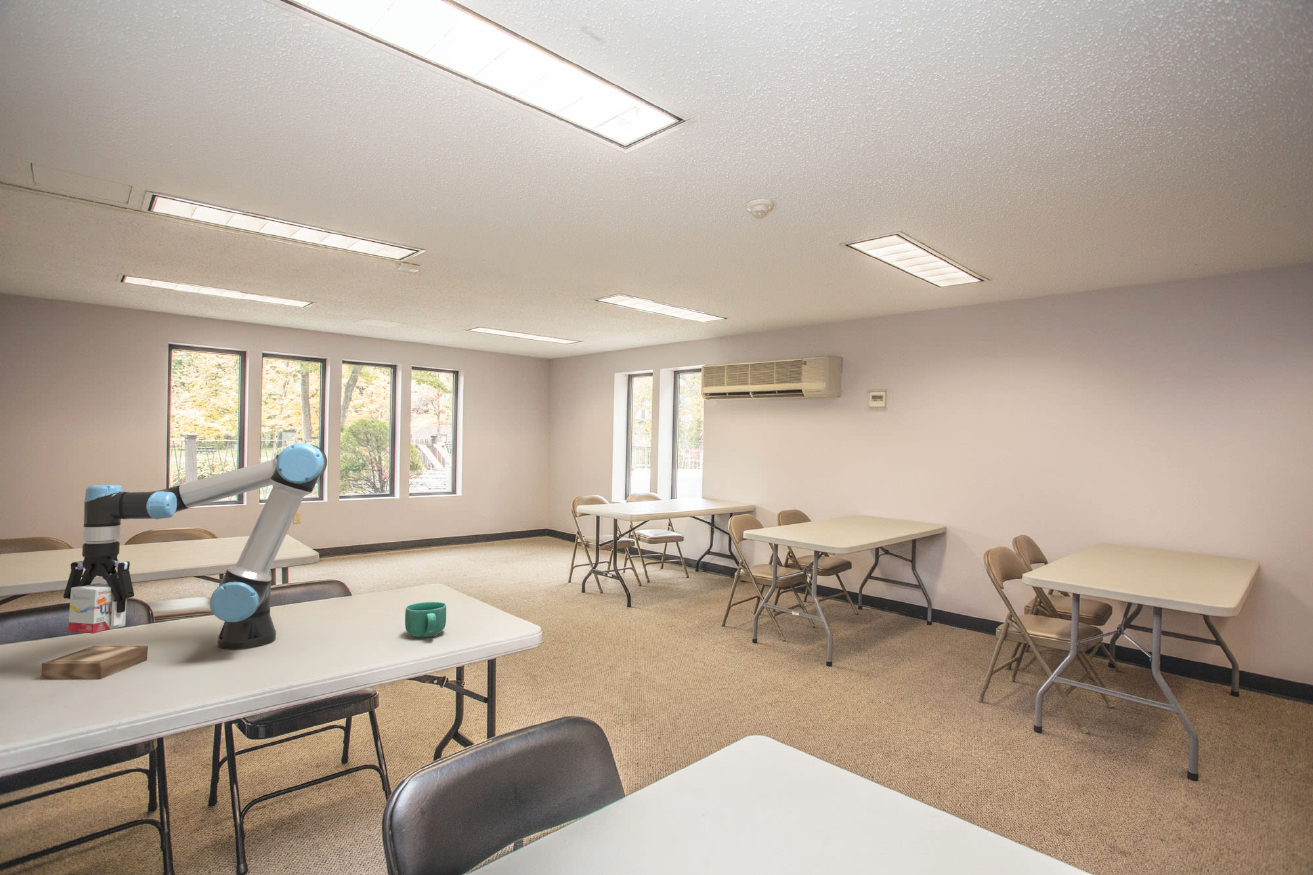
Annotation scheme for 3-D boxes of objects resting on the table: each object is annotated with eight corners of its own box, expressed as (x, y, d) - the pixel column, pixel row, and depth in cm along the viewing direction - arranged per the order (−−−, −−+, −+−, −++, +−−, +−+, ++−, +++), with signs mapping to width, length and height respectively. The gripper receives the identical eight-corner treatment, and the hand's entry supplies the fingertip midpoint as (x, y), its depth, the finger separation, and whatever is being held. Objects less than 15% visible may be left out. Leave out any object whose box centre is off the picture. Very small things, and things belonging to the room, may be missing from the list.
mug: (403, 632, 203) (404, 603, 203) (443, 628, 208) (444, 599, 208) (406, 646, 188) (407, 615, 188) (449, 641, 193) (450, 611, 194)
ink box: (92, 634, 161) (94, 588, 161) (67, 631, 163) (69, 587, 163) (126, 625, 169) (128, 582, 170) (102, 623, 171) (104, 580, 172)
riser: (147, 659, 173) (147, 645, 174) (100, 678, 158) (101, 662, 159) (92, 660, 173) (93, 645, 173) (41, 679, 158) (41, 663, 158)
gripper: (153, 540, 171) (150, 621, 170) (72, 539, 170) (68, 620, 170) (131, 543, 164) (127, 628, 163) (46, 543, 163) (42, 628, 162)
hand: (97, 624), depth 166 cm, fingers closed on ink box, 9 cm apart
